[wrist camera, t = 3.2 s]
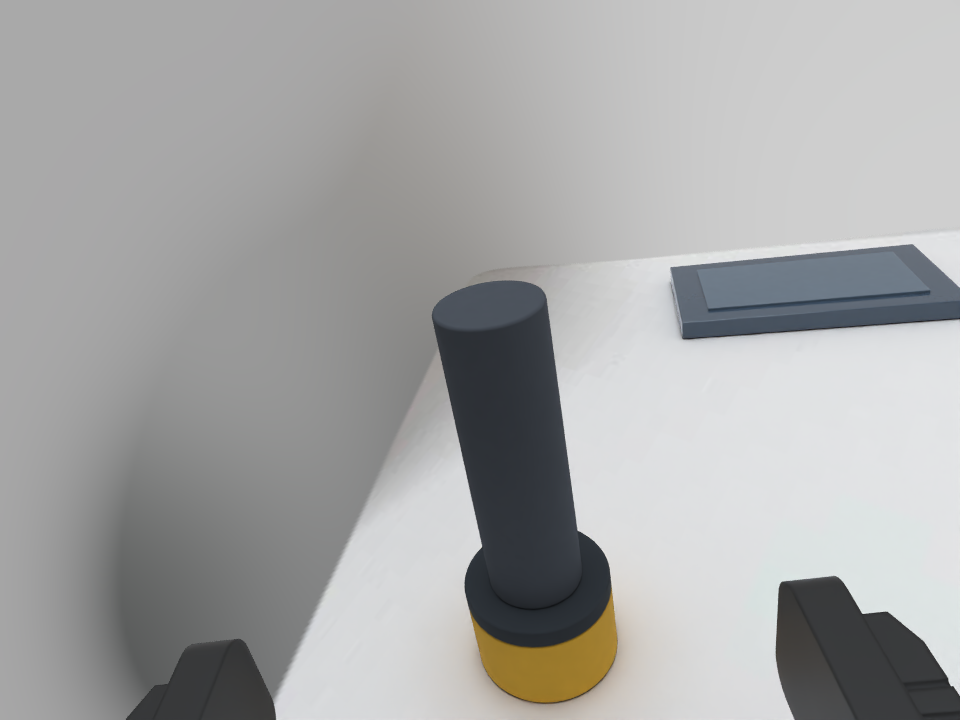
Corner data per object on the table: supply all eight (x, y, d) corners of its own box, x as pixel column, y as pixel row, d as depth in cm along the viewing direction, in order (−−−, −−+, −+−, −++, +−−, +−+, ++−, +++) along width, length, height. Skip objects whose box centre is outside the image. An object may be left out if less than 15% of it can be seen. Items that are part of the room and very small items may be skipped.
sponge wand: (452, 661, 22) (361, 327, 17) (531, 571, 25) (474, 260, 20) (569, 730, 20) (507, 361, 14) (642, 621, 23) (614, 277, 17)
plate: (682, 339, 38) (681, 320, 38) (670, 281, 45) (670, 264, 45) (970, 317, 35) (974, 296, 35) (910, 259, 42) (913, 241, 42)
